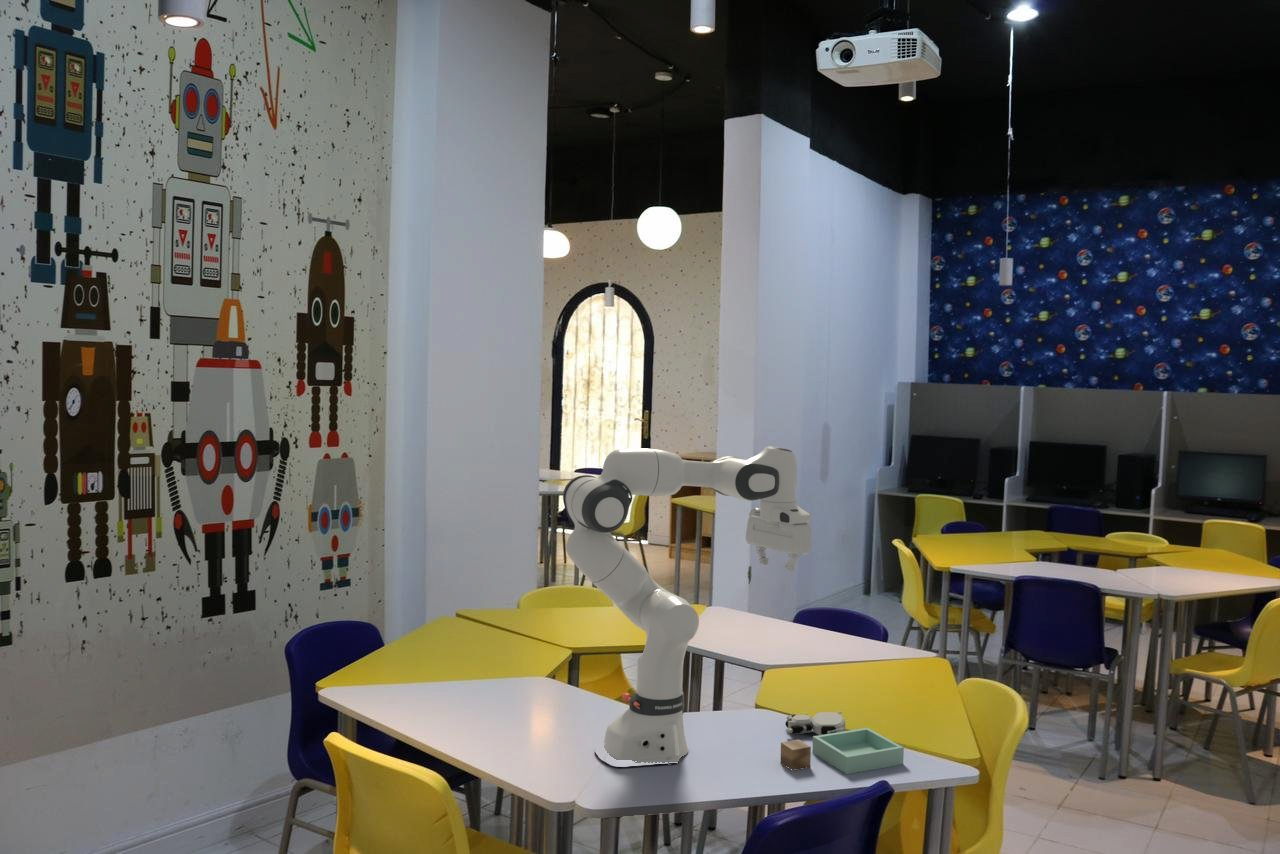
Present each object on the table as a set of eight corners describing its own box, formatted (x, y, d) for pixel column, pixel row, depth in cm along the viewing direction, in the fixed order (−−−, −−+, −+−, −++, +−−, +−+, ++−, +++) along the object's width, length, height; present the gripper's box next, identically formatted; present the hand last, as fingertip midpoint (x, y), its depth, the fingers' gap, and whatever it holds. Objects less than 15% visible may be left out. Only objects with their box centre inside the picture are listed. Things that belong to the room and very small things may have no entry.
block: (791, 771, 234) (792, 749, 233) (780, 763, 238) (780, 742, 238) (810, 767, 236) (810, 746, 235) (798, 760, 240) (799, 739, 240)
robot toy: (785, 743, 253) (846, 743, 251) (784, 725, 253) (845, 725, 251) (786, 726, 265) (844, 726, 263) (785, 709, 265) (844, 709, 263)
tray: (846, 774, 232) (846, 757, 232) (812, 752, 245) (812, 736, 245) (903, 764, 238) (903, 747, 238) (867, 743, 251) (867, 727, 251)
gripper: (740, 507, 257) (739, 561, 258) (797, 518, 241) (795, 576, 241) (759, 506, 261) (758, 559, 262) (816, 516, 244) (814, 573, 245)
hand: (776, 567), depth 251 cm, fingers open, 8 cm apart
